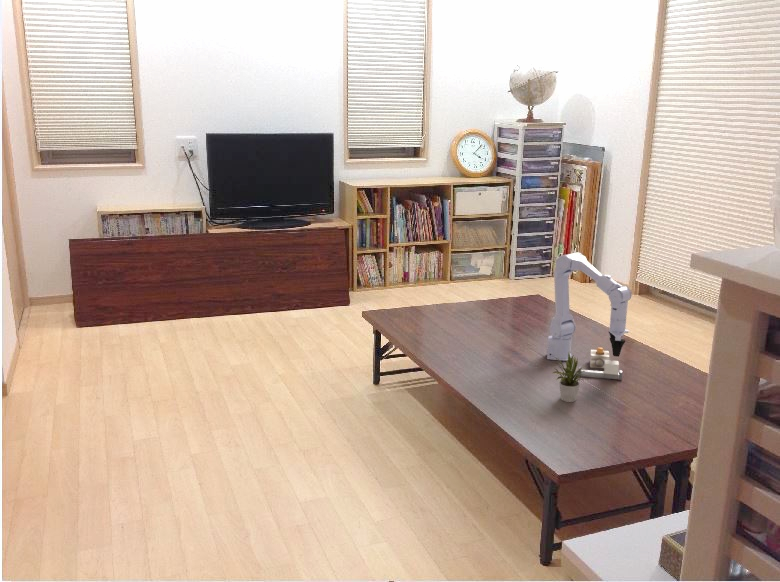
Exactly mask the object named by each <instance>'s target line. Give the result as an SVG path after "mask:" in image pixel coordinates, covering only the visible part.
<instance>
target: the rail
mask: <svg viewBox="0 0 780 582" xmlns="http://www.w3.org/2000/svg"><path fill="white" fill-rule="evenodd" d="M581 367H582V366H580V365H579V366H578V370H579V369H580V368H581ZM581 371H586V372H582V373H580V374H579V375H578V376H579V378H581V377H584V378H585V377H587V378H598V379H605V378H604V370H603V371H601V370H593V369H583V368H582V369H581V370H580V371H579V372H581ZM579 372H578V373H579ZM578 373H577V374H578ZM606 379H608V380H612V379H611V378H606ZM617 380H618V381H623V369H619V371H618V379H617Z"/></svg>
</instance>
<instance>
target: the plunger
mask: <svg viewBox="0 0 780 582" xmlns="http://www.w3.org/2000/svg"><path fill="white" fill-rule="evenodd" d="M596 350H597V354H603V351H604V347H600V346H598V347H597V349H596Z"/></svg>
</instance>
